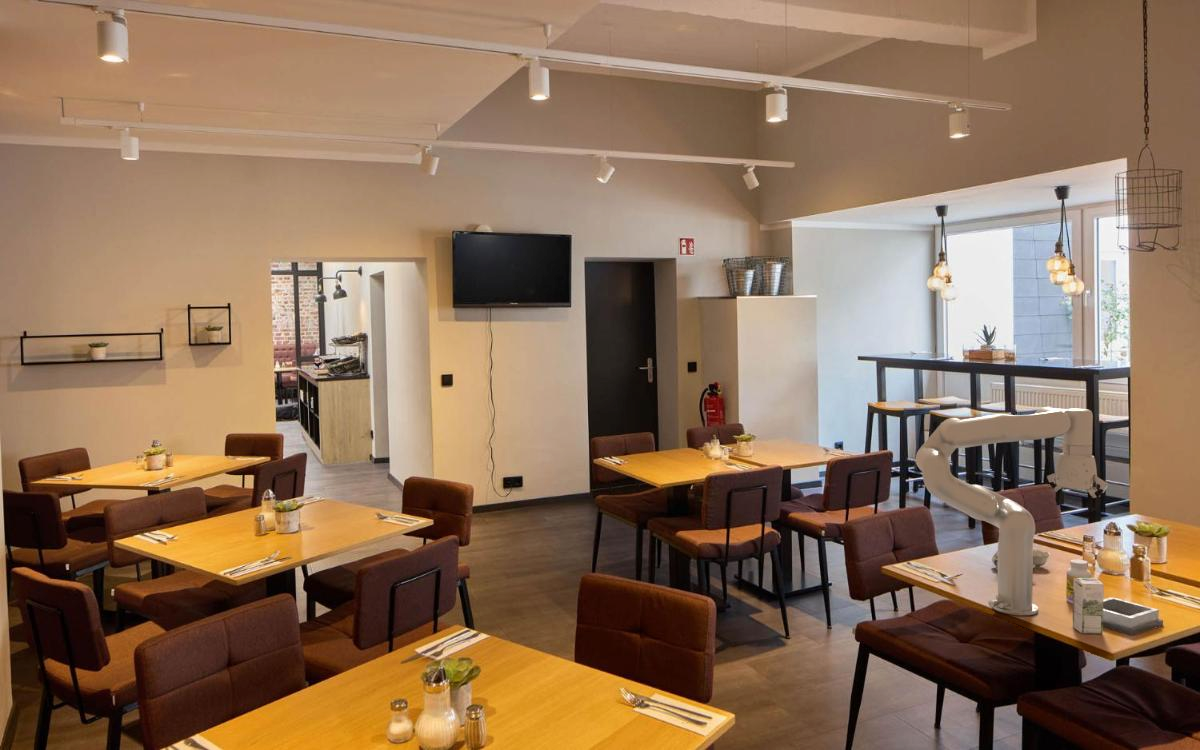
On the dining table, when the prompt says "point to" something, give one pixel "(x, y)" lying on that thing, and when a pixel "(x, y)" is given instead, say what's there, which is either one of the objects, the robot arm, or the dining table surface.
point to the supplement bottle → (1075, 576)
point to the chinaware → (1038, 558)
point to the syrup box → (1088, 605)
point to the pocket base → (1129, 616)
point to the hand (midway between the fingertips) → (1076, 507)
